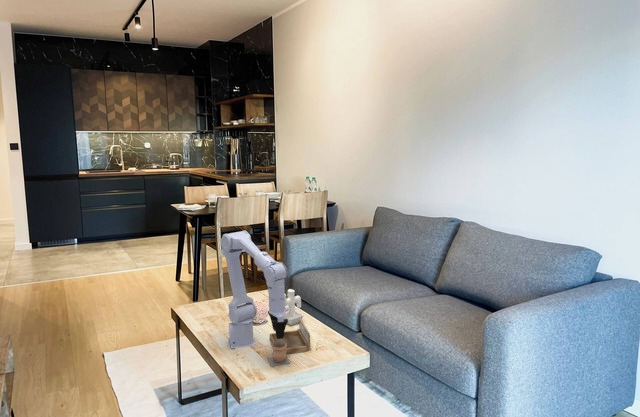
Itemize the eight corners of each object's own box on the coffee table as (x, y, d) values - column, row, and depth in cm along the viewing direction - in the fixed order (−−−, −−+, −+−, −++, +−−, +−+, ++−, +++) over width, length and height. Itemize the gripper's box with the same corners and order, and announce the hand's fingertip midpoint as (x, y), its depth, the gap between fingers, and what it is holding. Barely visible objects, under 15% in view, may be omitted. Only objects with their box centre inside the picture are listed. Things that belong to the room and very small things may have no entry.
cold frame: (276, 357, 179) (276, 340, 178) (269, 339, 195) (268, 324, 194) (311, 352, 182) (310, 335, 181) (301, 335, 198) (300, 320, 197)
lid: (308, 352, 183) (308, 332, 182) (299, 336, 197) (299, 318, 196) (310, 351, 183) (309, 332, 182) (301, 336, 198) (300, 318, 196)
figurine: (306, 322, 211) (304, 289, 209) (288, 328, 205) (287, 294, 203) (295, 318, 217) (294, 285, 215) (278, 324, 211) (276, 290, 209)
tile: (270, 368, 171) (270, 366, 171) (267, 359, 178) (267, 357, 177) (290, 365, 173) (290, 363, 172) (286, 356, 179) (286, 355, 179)
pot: (274, 364, 172) (273, 348, 171) (270, 358, 177) (269, 342, 176) (289, 361, 174) (288, 346, 173) (285, 355, 179) (284, 340, 178)
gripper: (291, 302, 167) (293, 340, 169) (284, 290, 181) (285, 325, 183) (271, 305, 166) (273, 343, 168) (265, 292, 179) (266, 327, 181)
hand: (278, 334), depth 175 cm, fingers open, 7 cm apart
